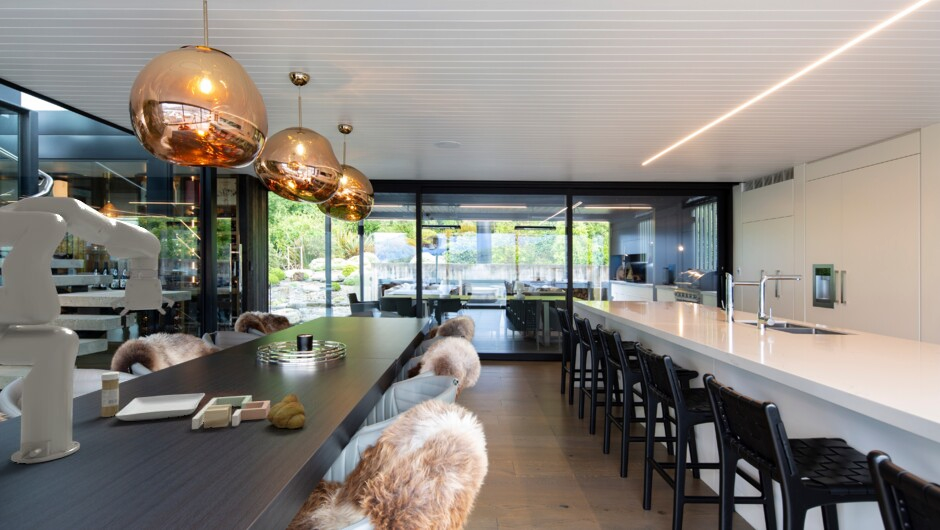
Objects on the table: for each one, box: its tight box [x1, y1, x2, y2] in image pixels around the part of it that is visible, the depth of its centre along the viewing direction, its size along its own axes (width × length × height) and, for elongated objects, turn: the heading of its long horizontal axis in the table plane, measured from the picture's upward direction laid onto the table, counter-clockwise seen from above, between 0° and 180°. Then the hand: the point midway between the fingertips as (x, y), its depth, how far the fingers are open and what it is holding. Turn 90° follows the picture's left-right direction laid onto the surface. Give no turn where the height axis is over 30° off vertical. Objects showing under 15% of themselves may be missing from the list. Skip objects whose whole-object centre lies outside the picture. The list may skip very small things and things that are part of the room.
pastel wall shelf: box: [191, 395, 271, 430], centre depth 150 cm, size 24×19×3 cm
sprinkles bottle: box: [100, 371, 120, 418], centre depth 149 cm, size 5×5×13 cm
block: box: [203, 404, 232, 429], centre depth 141 cm, size 6×6×5 cm
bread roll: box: [267, 394, 306, 429], centre depth 139 cm, size 13×10×8 cm
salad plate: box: [114, 392, 206, 422], centre depth 153 cm, size 21×21×3 cm
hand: (142, 327), depth 154 cm, fingers open, 9 cm apart
